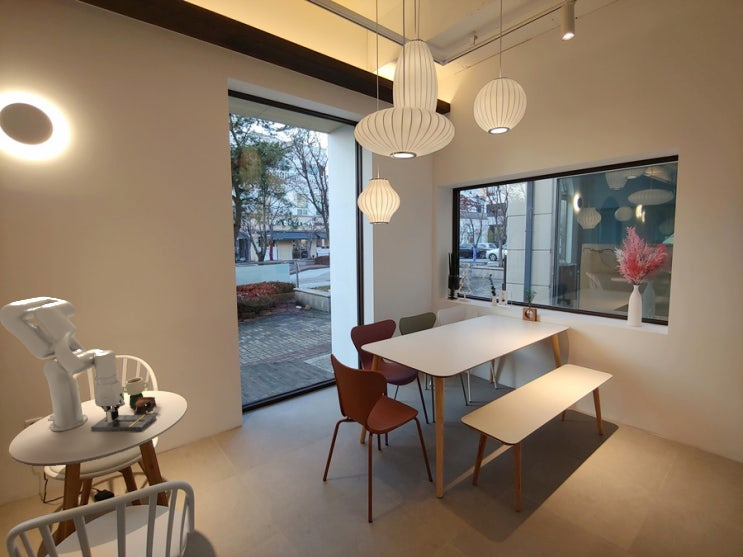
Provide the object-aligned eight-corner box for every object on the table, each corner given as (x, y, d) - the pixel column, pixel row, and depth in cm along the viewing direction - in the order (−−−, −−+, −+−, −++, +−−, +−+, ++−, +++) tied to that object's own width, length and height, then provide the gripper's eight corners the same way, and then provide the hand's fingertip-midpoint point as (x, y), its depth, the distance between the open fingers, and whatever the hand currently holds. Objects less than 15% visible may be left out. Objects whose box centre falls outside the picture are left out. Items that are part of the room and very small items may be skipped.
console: (91, 431, 152) (90, 426, 152) (109, 419, 162) (108, 414, 162) (141, 431, 152) (140, 426, 151) (156, 418, 161) (155, 414, 161)
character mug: (150, 399, 181) (147, 375, 179) (150, 405, 175) (147, 380, 173) (124, 405, 175) (121, 380, 173) (123, 411, 169) (120, 385, 167)
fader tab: (107, 422, 155) (106, 411, 154) (114, 417, 159) (113, 406, 158) (111, 422, 155) (109, 411, 154) (118, 417, 159) (116, 406, 158)
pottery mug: (127, 416, 165) (130, 398, 168) (146, 416, 173) (149, 398, 176) (145, 414, 161) (148, 395, 164) (164, 414, 169) (166, 396, 172)
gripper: (83, 383, 151) (88, 423, 153) (118, 382, 150) (124, 423, 153) (97, 375, 158) (102, 414, 161) (131, 375, 158) (136, 414, 160)
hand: (112, 418), depth 157 cm, fingers closed on fader tab
